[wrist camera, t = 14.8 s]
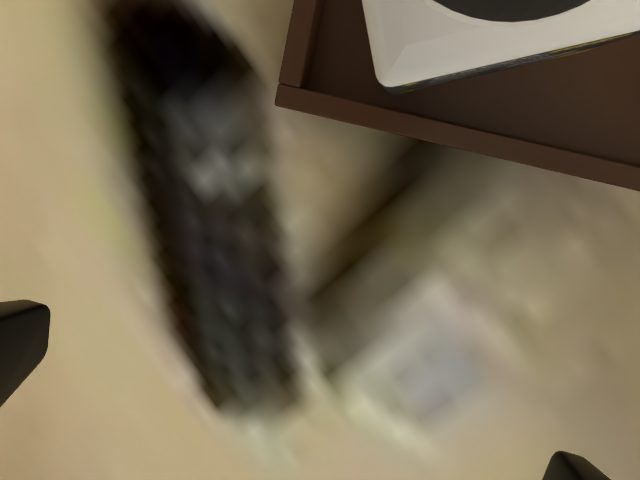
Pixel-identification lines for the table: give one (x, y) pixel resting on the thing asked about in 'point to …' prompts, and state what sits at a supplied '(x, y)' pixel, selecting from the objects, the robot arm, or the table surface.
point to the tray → (475, 98)
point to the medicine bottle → (485, 35)
